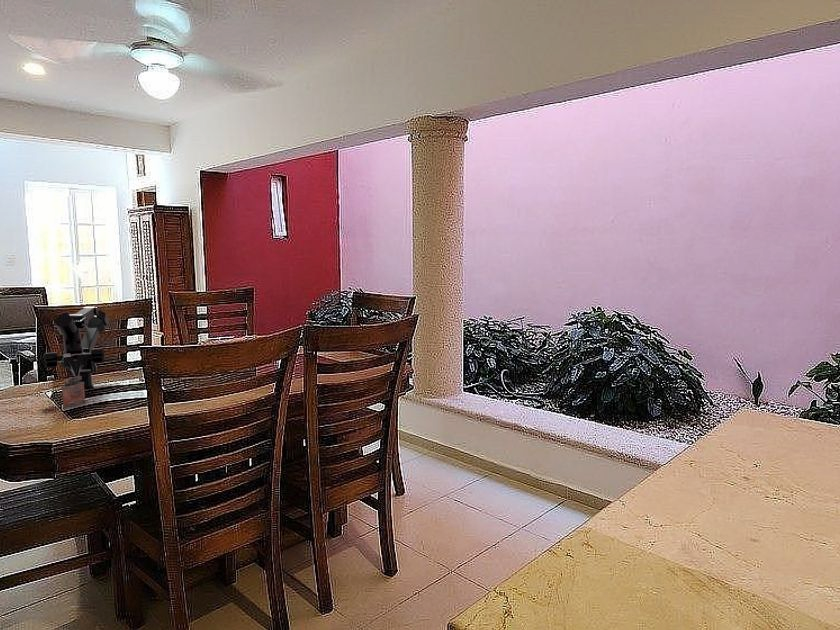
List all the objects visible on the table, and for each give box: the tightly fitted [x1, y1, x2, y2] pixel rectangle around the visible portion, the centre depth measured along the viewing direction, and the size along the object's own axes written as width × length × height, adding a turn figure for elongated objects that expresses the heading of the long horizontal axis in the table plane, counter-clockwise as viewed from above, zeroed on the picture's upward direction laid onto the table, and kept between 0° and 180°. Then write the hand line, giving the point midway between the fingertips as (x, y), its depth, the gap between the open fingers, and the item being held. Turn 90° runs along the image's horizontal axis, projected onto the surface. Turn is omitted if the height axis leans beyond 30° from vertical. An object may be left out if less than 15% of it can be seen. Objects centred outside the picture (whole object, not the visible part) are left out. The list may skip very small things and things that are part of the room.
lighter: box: [60, 376, 87, 409], centre depth 199 cm, size 8×3×10 cm, turn 161°
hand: (76, 376), depth 205 cm, fingers closed
